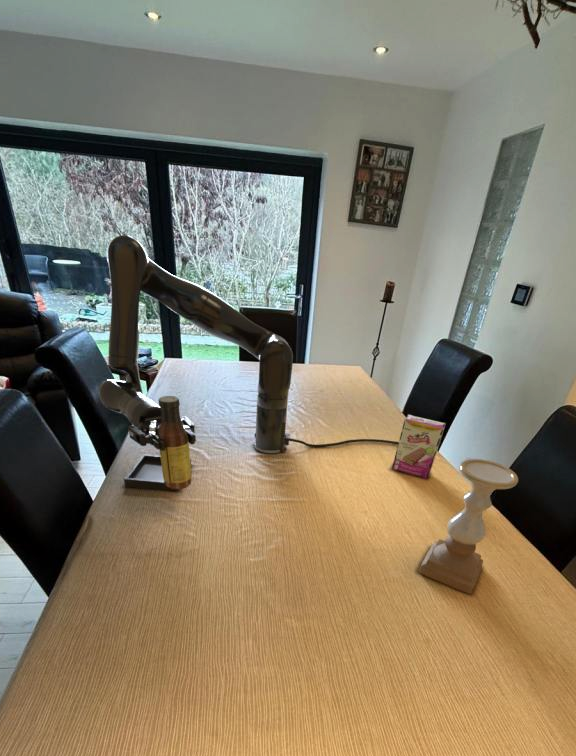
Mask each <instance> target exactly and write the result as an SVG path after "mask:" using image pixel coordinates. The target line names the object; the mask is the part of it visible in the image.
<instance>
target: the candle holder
mask: <svg viewBox="0 0 576 756" xmlns="http://www.w3.org/2000/svg"><path fill="white" fill-rule="evenodd" d="M459 472H460V474H461V475H462V476H463V477H464V478H465V479H466V480H468V481H470V483H471V489H470V491H468V492H467V493H465V494H464V495H463V497H462V499H463V501H464V508H463V509H462V510H461V511H460V512H458V513H456V514H455V515H453V517H452V516H451V518H450V519H449V520H448V522H447V525H446V532H447V534H448V535H446V537H445V538H444V540H443V539H438V540H437V541H434V542H433V543H432V544H431V546H430V548H429V549H428V551H427V553H426V554H425V557H424V558H423V561H422V563H421V565H420V566H419V567H420V568H419V570H418V571H419V572H418V573H419V574H420V575H424V576H426V577H428V578H430V579H433V580H435V581H436V582H440V583H442V584H444V585H446V586H449V587H452V588H454V589H456V590H459V591H461V592H464V593H466V594H468V595H469V594H470V595H471V594H472V593H473V591H474V589H475V586H476V585H477V581H478V578H479V575H480V573H481V570H482V567H483V564H484V560H483V559H482V555H481V554H480V553H478V552H476V551H477V546H476V545H477V544H479V543H481V542H482V541H483V540H484V539H485V538H486V534H487V532H486V531H487V530H486V525H485V522H484V519H483V513H484V512H485V511H487V510H488V509H490V508H491V507H492V505H493V502H492V500H491V495H492V493H493V492H494V491H497V490H509V489H512V488H514V487H516V486H517V485H518V483H519V476H518V475H517V473H516V472H514V471H513V470H512V469H511V468H509V467H507V466H505V465H503V464H501V463H498V462H495V461H492V460H488V459H481V458H480V459H479V458H470V459H465V460H464V461H463V460H462V462H461V463H460V464H459Z"/></svg>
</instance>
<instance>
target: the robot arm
mask: <svg viewBox="0 0 576 756" xmlns="http://www.w3.org/2000/svg"><path fill="white" fill-rule="evenodd" d="M106 249H107V250H106V260H107V263H108V268H109V276H110V277H109V278H110V288H111V290H110V291H111V309H110V322H109V323H110V325H109V336H108V337H109V339H108V356H107V357H108V358H107V360H108V361H107V363H108V366H109V367H110V369H112V370H114V371H116V372H120V373H122V374H123V375H124V377H125V379H126V381H125V380H117V379H106V380H104V381H102V383H101V384H100V385H99V387H98V396H99V397H98V398H99V400H100V402H101V403H102V404H103V406H105V408H107V409H108V410H110V411H113V412H115V413H117V414H120V415H122V416H123V417H125V419H127V420H128V421H129V423H130V424H131V425H129V426H127V427H128V434H129V438H130V439H131V440H132V441H134V442H136V443H137V444H138V445H140V447H141V446H142V447H147V445H148V444H149V445H150V446H153V447H154V448H155V449H156V450H159V451H160V450H161V451H164V450H165V443H164V441H163V440H162V439H161V438H160V437H159V436H158V429H159V426H160V424H161V421H162V419H161V408H160V406H159V404H158V403H156V402H155V401H153V400H152V399H150V398H149V397H148V396H146V395H144V393H143V387H142V383H141V378H140V372H139V351H140V349H139V348H140V318H139V317H140V298H141V293H142V294H145V295H147V296H149V297H151V298H153V299H155V300H157V301H158V302H160V303H161V304H162V305H164V306H166V307H167V308H168V309H170V311H173V312H174V313H175V314H177V315H179V317H181V318H183V319H184V320H186V321H187V322H189V323H190V324H192V325H194V326H195V327H197V328H199V329H200V330H202V331H204V332H205V333H207V334H209V335H211V336H213V337H215V338H218V339H221V340H223V341H225V342H229V343H232V344H234V345H237V346H238V347H241V349H244V350H246V351H247V352H248V353H249V354H251V355H252V356H253V357H255V358H256V359H257V360H259V365H258V367H259V368H258V382H257V387H256V388H257V389H256V390H257V391H256V393H257V395H256V413H255V433H254V439H255V440H254V449H255V450H256V451H258V452H259V453H263V454H269V455H270V454H279V453H284V450H285V446H289V445H290V442H293V443H299V444H302V445H304V446H306V447H310V448H326V447H334V446H340V445H341V446H342V445H344V444H345V445H346V444H350V443H360V442H362V443H363V442H365V443H369V442H370V443H371V442H372V443H384V444H393V445H398V443H399V441H394V440H386V439H374V438H373V439H372V438H357V439H347V440H342V441H338V442H331V443H323V444H322V443H321V444H320V443H319V444H313V443H308V442H306V441H304V440H300V439H295V438H291V437H290V435H291V434H290V433H286V429H287V428H286V427H287V416H288V415H287V413H288V401H289V393H290V392H289V391H290V388H291V384H292V383H291V382H292V373H293V364H294V363H293V362H294V353H293V351H292V348H291V346H290V345H289V343H288V342H287V341H286V339H285V338H284V337H282V336H280V335H278V334H276V333H274V332H272V331H270V330H267V329H266V328H264V327H262V326H260V325H259V324H256V323H254V322H253V321H252V320H250V319H248V318H247V317H246V316H245V315H243V314H242V313H241V312H240V311H239V310H237V309H236V308H235V307H233V306H232V305H230V304H229V303H228V302H226V301H225V300H223V299H222V298H221V297H219V296H217V295H216V294H214V292H212V291H210V290H208V289H206V288H205V287H203V286H201V285H199V284H197V283H194V282H191V281H189V280H186V279H183V278H180V277H177V276H176V275H173V274H171V273H170V272H168V271H167V270H165V269H164V268H162V267H161V266H159V265H158V264H157V263H155V262H154V261H153V260H152V259H150V258H149V257H148V254H147V252H146V250H145V248H144V246H143V245H142V243H140V242H139V240H137V239H136V238H135V237H133V236H130V235H127V234H122V235H121V234H120V235H118V236H116V237H114V238H113V239H112V240H111V241H110V243H109V244H108V247H107V248H106ZM181 421H182V423H183V426H184V428H185V430H186V433H187V435H188V443H189V444H190V445H195V444H196V441H197V437H196V436H197V435H196V430H195V429H196V428H195V427H196V425H195V424H194V422H193V421H192V420H191V419H190V418H188V416H185V415H184V416H181ZM441 445H442V442H441V441H440V444H439V446H441Z"/></svg>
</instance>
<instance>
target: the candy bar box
mask: <svg viewBox="0 0 576 756" xmlns="http://www.w3.org/2000/svg"><path fill="white" fill-rule="evenodd" d="M446 426H447V425H446V422H441V421H438V420H433V419H428V418H424V417H420V416H416V415H413V414H407V416H406V417H405V419H404V421H403V424H402V428H401V432H400V436H399V440H398V442H399V443H398V444H397V446H396V451H395V455H394V459H393V462H392V466H391V470H392V471H393V470H394V471H398V472H399V473H400V472H401V473H404V474H408V475H412V476H414V477H418V478H422V479H426V480H427V479H428V478H429V476H430V474H431V472H432V469H433V465H434V462H435V459H436V455H437V453H438V450H439V447H440V445H439V444H440V442H441V440H442V437H443V434H444V431H445V428H446Z"/></svg>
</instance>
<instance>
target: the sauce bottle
mask: <svg viewBox="0 0 576 756" xmlns="http://www.w3.org/2000/svg"><path fill="white" fill-rule="evenodd" d="M158 405H159V406H160V408H161V419H162V421H161V424H160V426H159V429H158V436H159V437H160V438H161V439H162V440H163V441H164V443H165V450H164V451H161V450H160V449H159V456H160V457H161V464H162V472H163V479H164V482H165V485H166V486H167V487H169V488H172V489H179V490H183V489H186V488H187V487H189V486H190V485H191V484H192V463H191V464H190V459H191V455H190V445H189V444H190V443H189V442H188V435H187V433H186V430H185V428H184V426H183V423H182V421H181V419H182V417H181V413H180V398H179V397H178V396H175V395H163V396H161V397H159V398H158Z"/></svg>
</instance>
